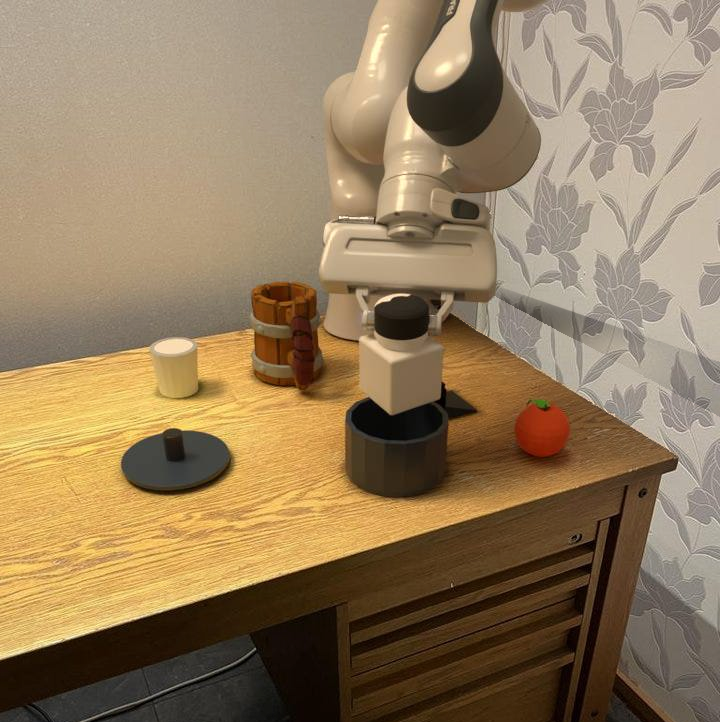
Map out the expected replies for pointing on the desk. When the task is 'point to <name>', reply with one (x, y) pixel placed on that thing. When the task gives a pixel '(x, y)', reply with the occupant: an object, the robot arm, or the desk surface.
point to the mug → (286, 334)
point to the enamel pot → (395, 448)
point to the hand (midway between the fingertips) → (401, 331)
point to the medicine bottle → (400, 356)
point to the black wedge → (454, 404)
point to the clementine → (542, 429)
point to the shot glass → (175, 366)
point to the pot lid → (175, 460)
